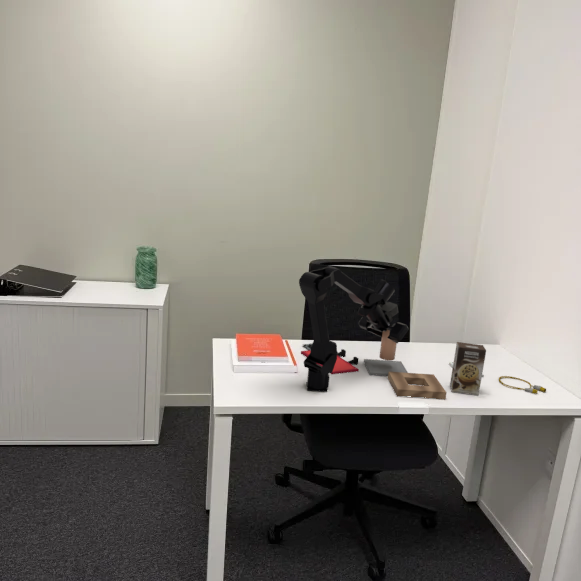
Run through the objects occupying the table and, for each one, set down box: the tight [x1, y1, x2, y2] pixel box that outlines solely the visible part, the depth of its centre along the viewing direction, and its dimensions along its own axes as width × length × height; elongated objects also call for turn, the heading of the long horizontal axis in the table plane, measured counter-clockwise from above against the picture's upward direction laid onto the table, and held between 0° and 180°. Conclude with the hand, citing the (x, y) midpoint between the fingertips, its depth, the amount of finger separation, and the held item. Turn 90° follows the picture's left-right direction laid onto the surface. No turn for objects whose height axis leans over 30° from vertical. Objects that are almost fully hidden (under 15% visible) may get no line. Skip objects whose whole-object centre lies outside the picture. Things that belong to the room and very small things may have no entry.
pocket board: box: [387, 372, 447, 400], centre depth 208 cm, size 16×16×2 cm
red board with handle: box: [300, 343, 359, 375], centre depth 231 cm, size 30×3×15 cm
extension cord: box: [498, 375, 547, 395], centre depth 219 cm, size 12×16×2 cm
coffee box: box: [449, 341, 487, 396], centre depth 208 cm, size 9×6×16 cm
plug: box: [379, 330, 398, 361], centre depth 222 cm, size 6×6×12 cm
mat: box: [363, 358, 409, 377], centre depth 224 cm, size 14×14×1 cm
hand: (391, 339), depth 223 cm, fingers closed on plug, 5 cm apart
